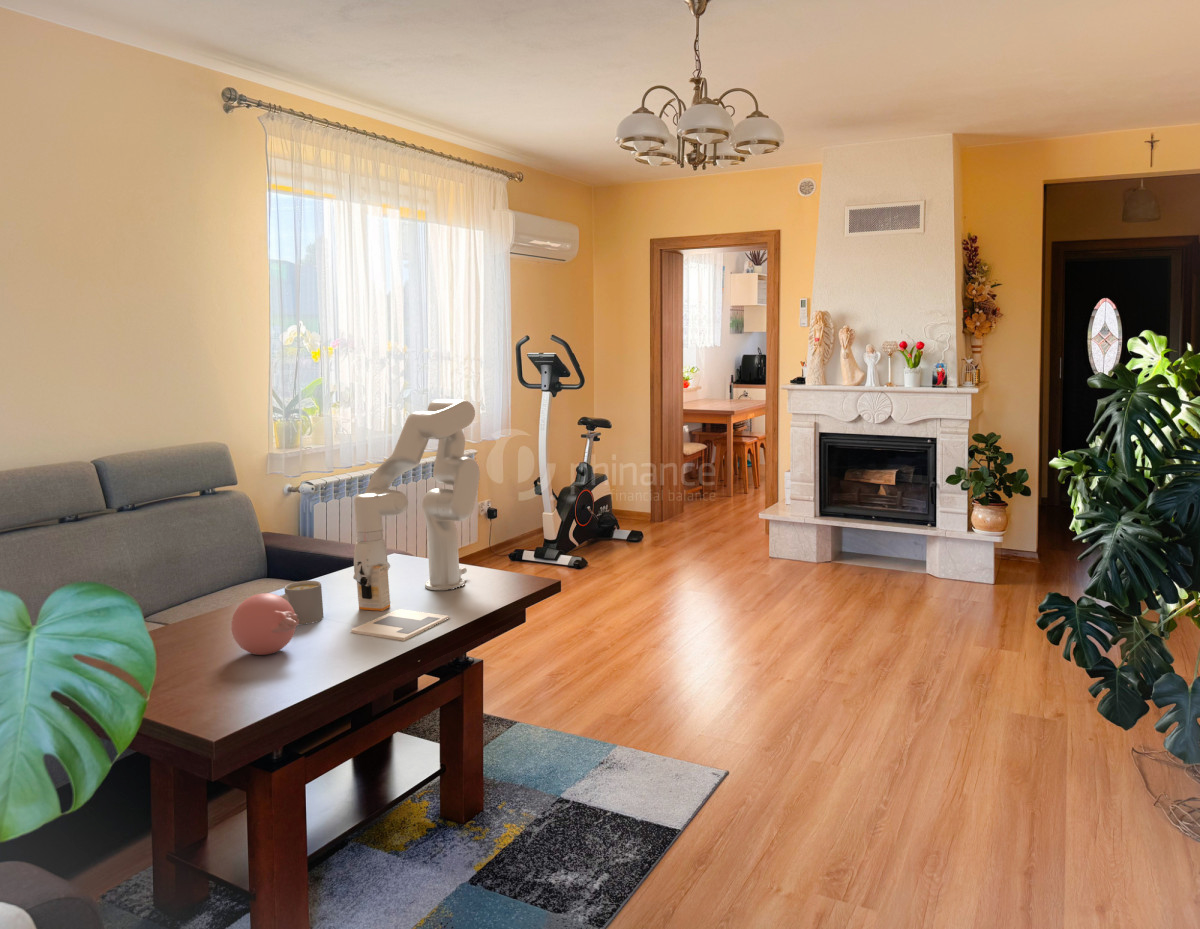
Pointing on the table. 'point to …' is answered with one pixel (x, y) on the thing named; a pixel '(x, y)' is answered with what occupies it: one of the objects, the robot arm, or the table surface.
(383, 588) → the supplement box
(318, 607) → the coffee mug
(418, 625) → the board
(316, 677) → the table surface
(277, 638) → the balloon
